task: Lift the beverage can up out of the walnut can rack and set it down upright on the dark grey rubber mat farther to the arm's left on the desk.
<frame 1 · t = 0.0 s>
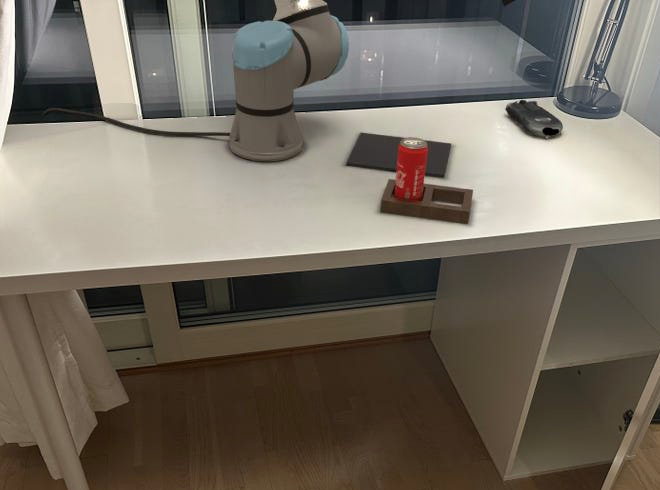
mat: (400, 155, 148), on the table
electronic device: (534, 127, 164), on the table
beverage can: (407, 205, 132), resting in can rack
can rack: (426, 206, 131), on the table
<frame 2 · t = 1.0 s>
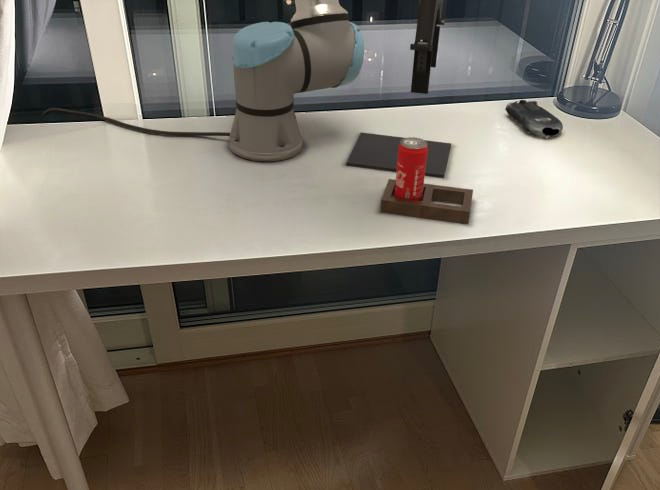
hand: (423, 79, 117), 23 cm above the table, tool pointing down, fingers open, 13 cm apart
nothing on the table moved.
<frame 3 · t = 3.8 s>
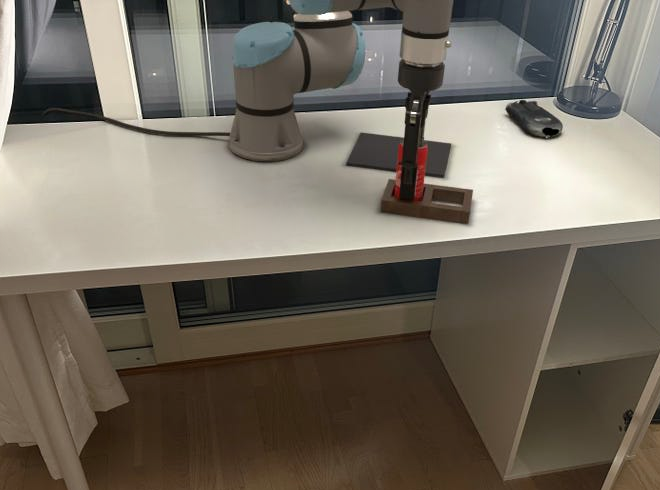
hand: (408, 190, 130), 3 cm above the table, tool pointing down, fingers closed on beverage can, can rack, 5 cm apart
beverage can: (407, 205, 132), resting in can rack, touching gripper
everything else where it was.
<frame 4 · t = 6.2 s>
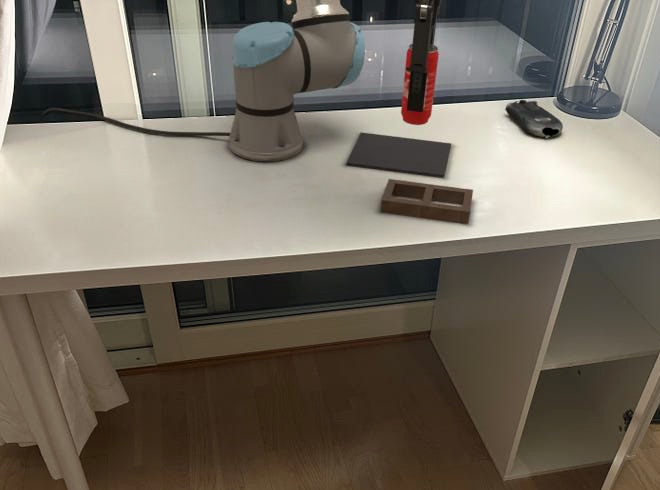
hand: (417, 103, 120), 19 cm above the table, tool pointing down, fingers closed on beverage can, 5 cm apart
beverage can: (415, 121, 122), point 16 cm above the table, touching gripper
everything else where it was.
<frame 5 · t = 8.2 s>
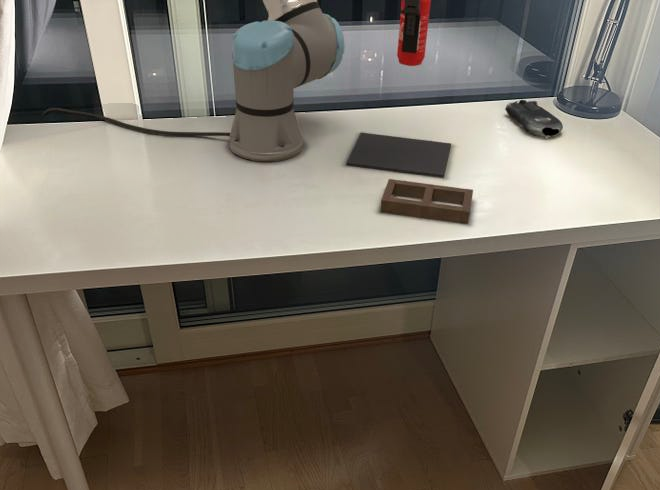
hand: (411, 46, 132), 22 cm above the table, tool pointing down, fingers closed on beverage can, 5 cm apart
beverage can: (410, 63, 134), point 20 cm above the table, touching gripper
everything else where it was.
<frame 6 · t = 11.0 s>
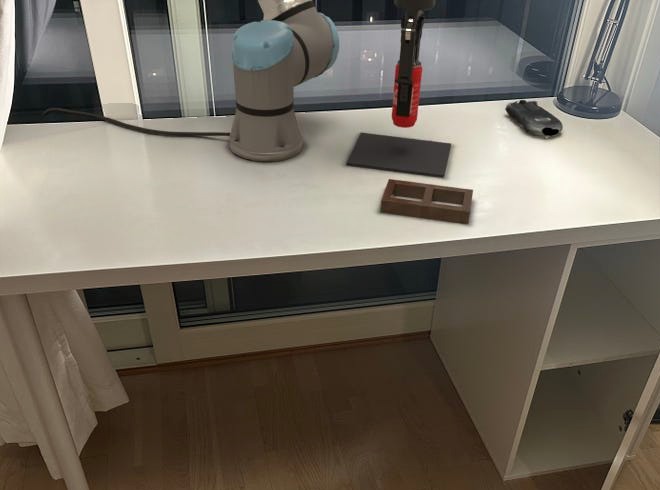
hand: (404, 110, 142), 10 cm above the table, tool pointing down, fingers closed on beverage can, 5 cm apart
beverage can: (403, 124, 144), point 7 cm above the table, touching gripper
everything else where it was.
when the fingers open (3 cm above the table, at t = 12.8 s): beverage can stays where it is, resting on mat.
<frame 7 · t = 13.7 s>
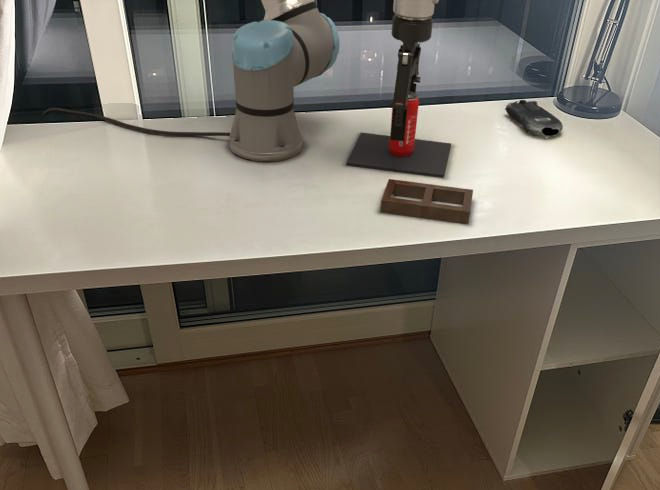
hand: (402, 127, 144), 6 cm above the table, tool pointing down, fingers open, 13 cm apart
beverage can: (400, 153, 148), resting on mat
everything else where it was.
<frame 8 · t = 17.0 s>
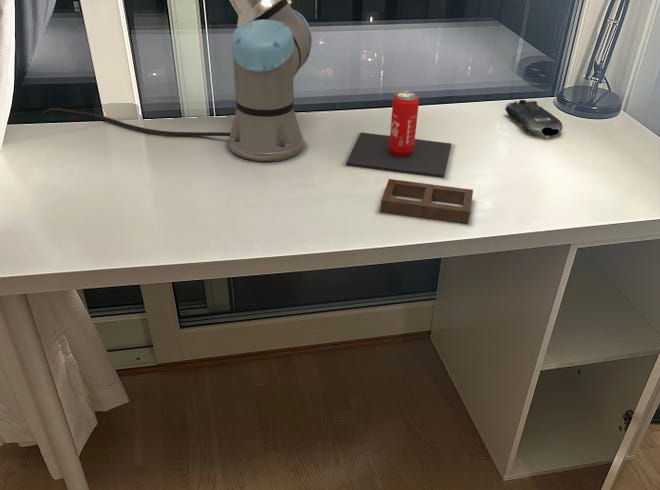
nothing on the table moved.
at the end: beverage can inside the target area on the mat (0.1 cm from its centre), point 0.4 cm above the mat's base; beverage can tilted 0°; the gripper is holding nothing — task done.
